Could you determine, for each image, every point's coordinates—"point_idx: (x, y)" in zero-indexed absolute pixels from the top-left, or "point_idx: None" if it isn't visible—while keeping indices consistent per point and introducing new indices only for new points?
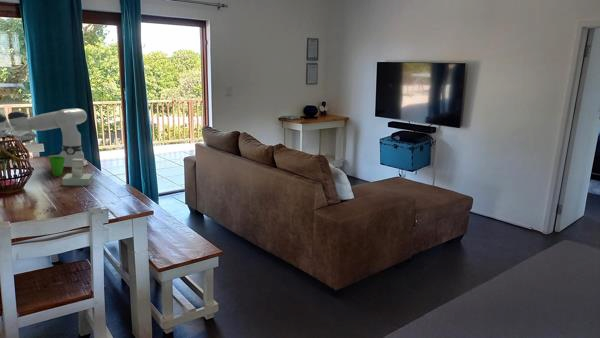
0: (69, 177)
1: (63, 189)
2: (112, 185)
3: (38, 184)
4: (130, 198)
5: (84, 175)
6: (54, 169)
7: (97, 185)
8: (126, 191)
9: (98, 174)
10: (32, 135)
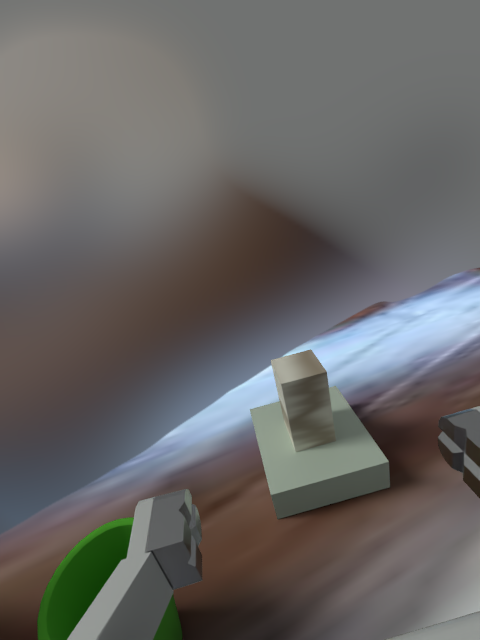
0: (349, 445)
1: None
2: None
3: None
4: (408, 305)
5: None
6: (173, 629)
7: None
8: (353, 328)
9: (152, 453)
10: (154, 598)
